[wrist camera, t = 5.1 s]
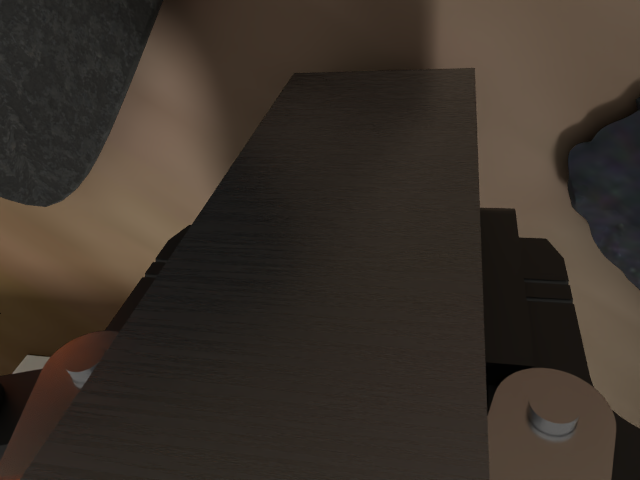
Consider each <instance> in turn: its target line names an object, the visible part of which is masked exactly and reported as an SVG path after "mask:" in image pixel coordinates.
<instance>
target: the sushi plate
mask: <svg viewBox="0 0 640 480" xmlns="http://www.w3.org/2000/svg"><path fill="white" fill-rule="evenodd" d="M162 2H163V0H0V197H2V198H5V199H8V200H11V201H15V202H18V203H22V204H25V205H33V206H43V207H47V206H50V205H52V204H55V203H58V202H60V201H62V200H64V199H65V198H66V197H67V196H69V195H70V194H71V193H72V192H74V191H75V190H76V189H77V188H78V187H79V185H80V184H81V183H82V181H83V180H84V179H85V178H86V176H87V175H88V174H89V172H90V171H91V169H92V167H93V165H94V163H95V162H96V160H97V158H98V156H99V154H100V152H101V150H102V148H103V146H104V144H105V142H106V140H107V138H108V136H109V133H110V131H111V129H112V127H113V124H114V122H115V120H116V117H117V115H118V113H119V110H120V108H121V105H122V103H123V101H124V98H125V96H126V93H127V91H128V88H129V86H130V83H131V81H132V79H133V76H134V74H135V71H136V69H137V66H138V63H139V61H140V58H141V56H142V53H143V51H144V48H145V46H146V43H147V40H148V38H149V35H150V33H151V30H152V28H153V25H154V22H155V20H156V17H157V15H158V12H159V10H160V7H161V4H162ZM0 314H1V313H0Z"/></svg>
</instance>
